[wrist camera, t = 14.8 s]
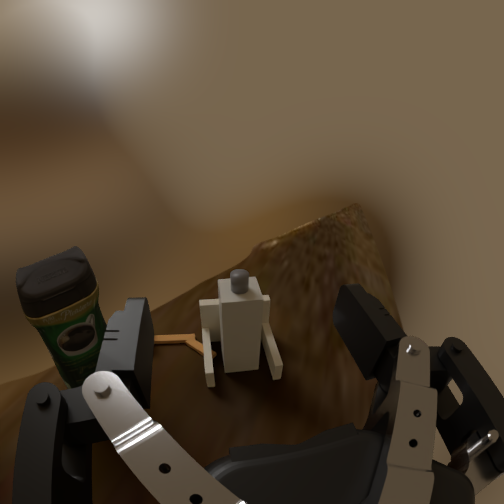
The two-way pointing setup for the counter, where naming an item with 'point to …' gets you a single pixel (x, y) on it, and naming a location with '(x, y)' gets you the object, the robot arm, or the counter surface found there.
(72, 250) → the coffee jar
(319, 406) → the counter surface
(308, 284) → the counter surface
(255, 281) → the white square bottle
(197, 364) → the counter surface
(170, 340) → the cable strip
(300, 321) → the counter surface
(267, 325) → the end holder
